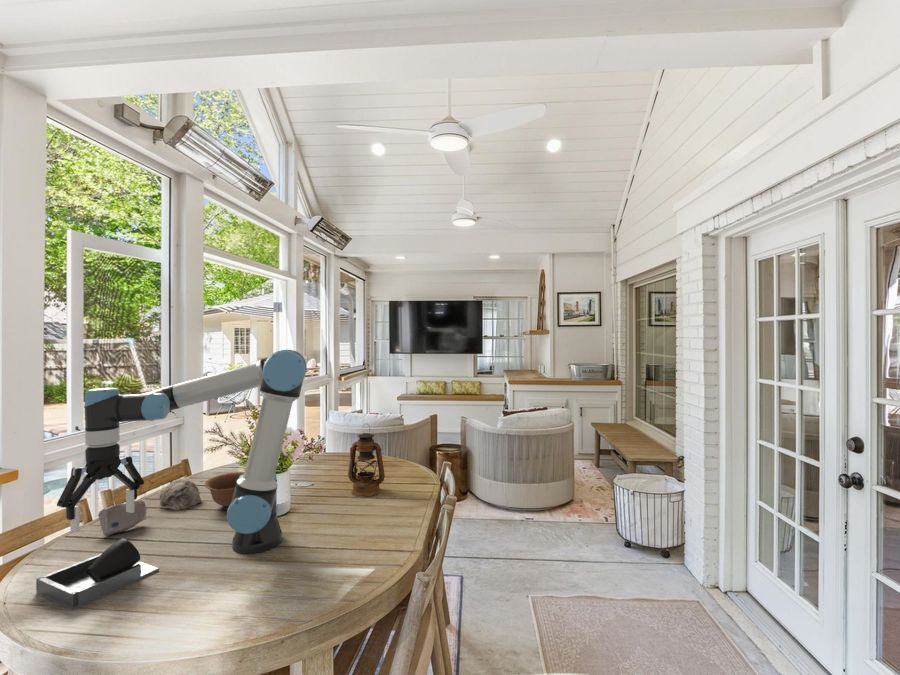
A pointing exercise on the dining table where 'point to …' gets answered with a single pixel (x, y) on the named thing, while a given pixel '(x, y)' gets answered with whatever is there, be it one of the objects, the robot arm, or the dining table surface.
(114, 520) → the mauve grey rounded block
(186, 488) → the rock
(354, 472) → the lantern
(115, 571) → the black rounded cylinder
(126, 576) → the grey rectangular tray
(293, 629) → the dining table surface
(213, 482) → the bowl
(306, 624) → the dining table surface
